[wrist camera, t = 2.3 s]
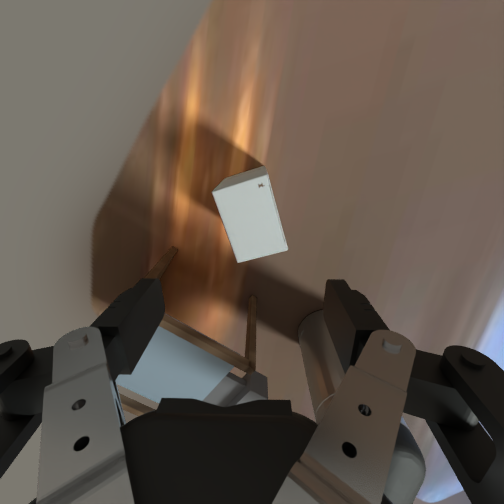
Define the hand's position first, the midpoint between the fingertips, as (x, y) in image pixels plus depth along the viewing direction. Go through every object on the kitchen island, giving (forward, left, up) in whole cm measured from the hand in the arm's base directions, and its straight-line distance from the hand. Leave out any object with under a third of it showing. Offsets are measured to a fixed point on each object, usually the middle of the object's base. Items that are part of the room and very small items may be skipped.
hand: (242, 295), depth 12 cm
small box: (0, 0, -24) cm, 24 cm away
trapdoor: (+8, +19, -13) cm, 24 cm away
